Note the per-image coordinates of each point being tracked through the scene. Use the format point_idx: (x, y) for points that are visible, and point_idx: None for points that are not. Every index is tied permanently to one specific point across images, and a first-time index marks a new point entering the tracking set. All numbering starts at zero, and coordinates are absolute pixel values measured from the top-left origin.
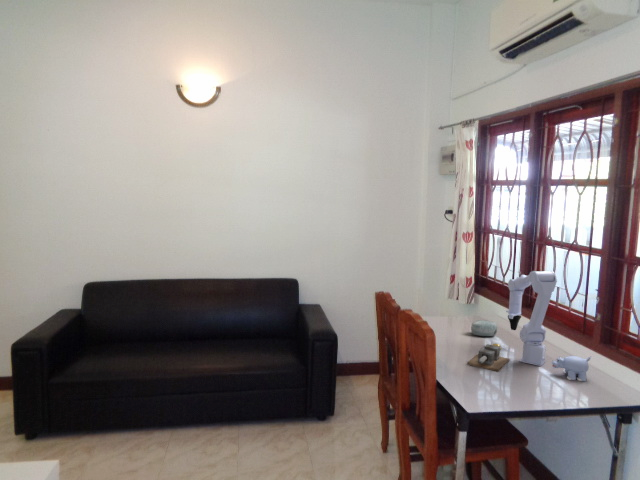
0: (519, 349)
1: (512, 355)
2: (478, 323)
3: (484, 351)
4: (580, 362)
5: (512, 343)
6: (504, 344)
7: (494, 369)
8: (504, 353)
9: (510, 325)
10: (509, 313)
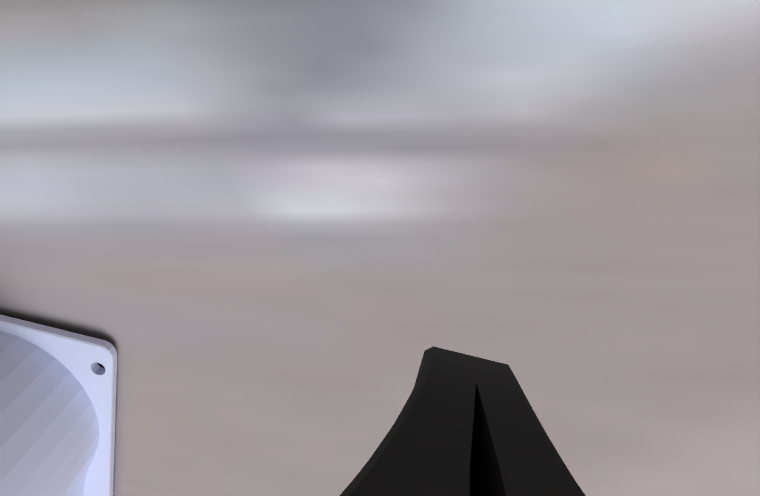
0: (430, 296)
1: (88, 203)
2: None
3: None
4: None
5: (733, 195)
6: (618, 57)
7: None
8: (102, 85)
9: (402, 413)
10: None
